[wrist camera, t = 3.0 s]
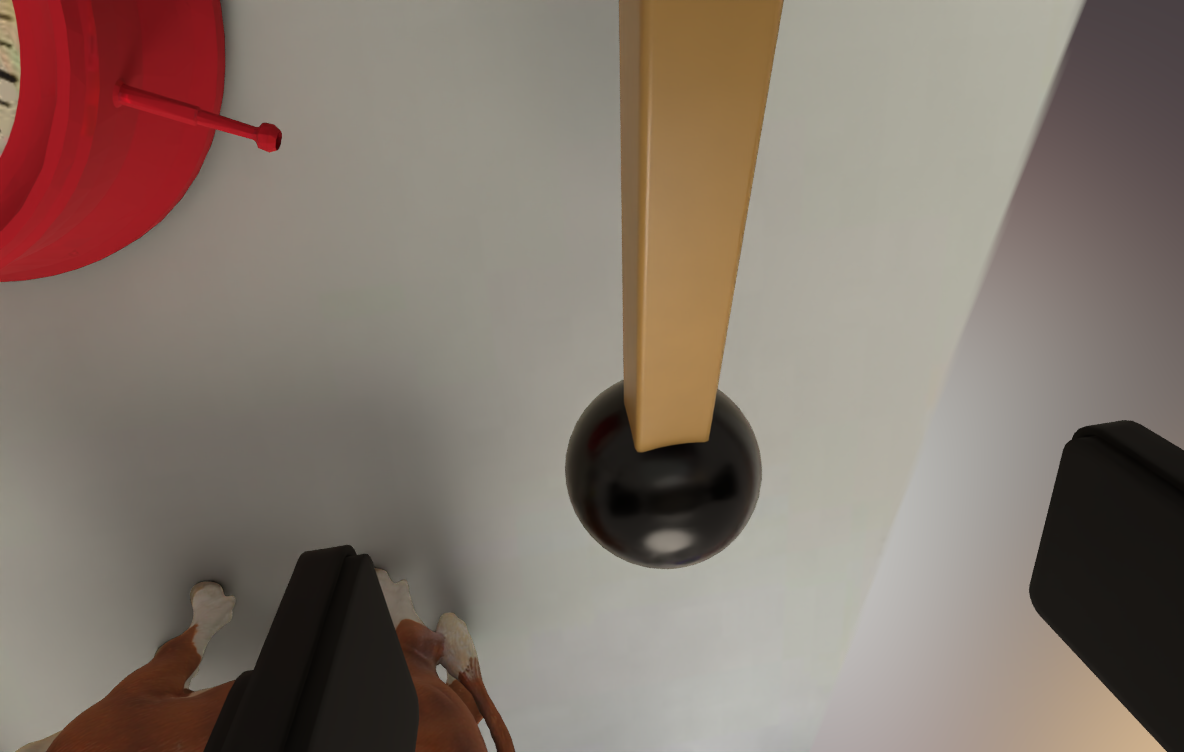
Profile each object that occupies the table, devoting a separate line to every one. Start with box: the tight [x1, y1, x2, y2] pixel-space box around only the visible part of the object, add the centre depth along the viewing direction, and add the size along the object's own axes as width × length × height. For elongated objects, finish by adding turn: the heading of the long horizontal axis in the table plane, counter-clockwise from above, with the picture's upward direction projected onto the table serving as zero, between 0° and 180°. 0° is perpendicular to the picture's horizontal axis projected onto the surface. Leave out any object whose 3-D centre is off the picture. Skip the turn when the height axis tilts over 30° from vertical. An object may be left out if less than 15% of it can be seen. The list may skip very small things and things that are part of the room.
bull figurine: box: [15, 568, 515, 752], centre depth 15 cm, size 4×13×8 cm, turn 82°
